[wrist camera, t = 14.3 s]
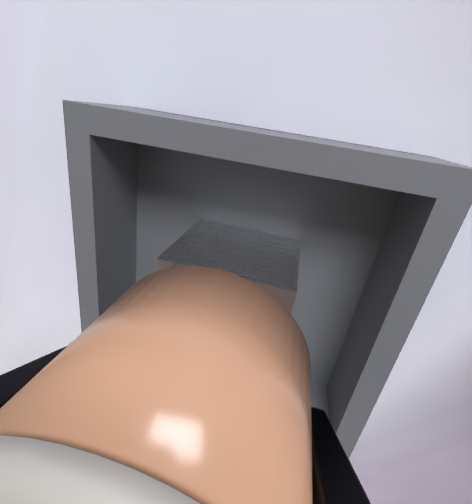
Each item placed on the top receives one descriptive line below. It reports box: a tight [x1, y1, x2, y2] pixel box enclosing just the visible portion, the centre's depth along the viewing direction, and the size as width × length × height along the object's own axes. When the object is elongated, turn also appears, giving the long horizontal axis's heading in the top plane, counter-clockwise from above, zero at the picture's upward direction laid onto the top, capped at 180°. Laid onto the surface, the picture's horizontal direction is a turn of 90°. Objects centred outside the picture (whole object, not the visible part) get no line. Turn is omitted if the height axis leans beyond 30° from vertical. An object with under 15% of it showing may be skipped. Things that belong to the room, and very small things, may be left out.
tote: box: [63, 100, 472, 459], centre depth 15 cm, size 14×14×4 cm
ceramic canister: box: [0, 266, 313, 504], centre depth 7 cm, size 7×7×7 cm
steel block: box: [156, 219, 300, 314], centre depth 14 cm, size 5×5×5 cm
